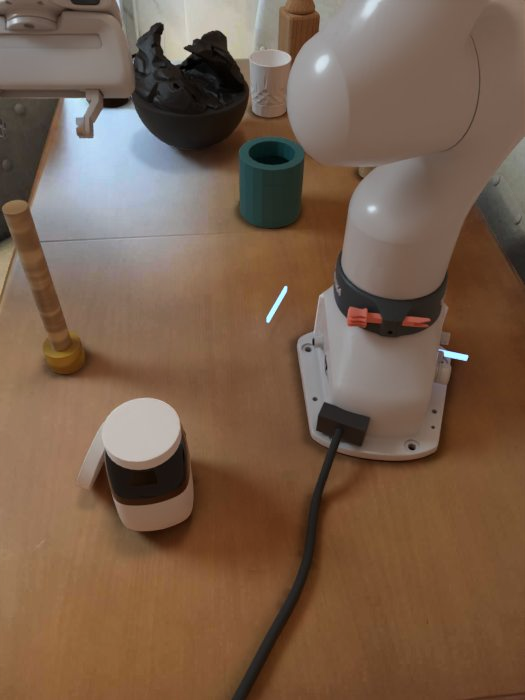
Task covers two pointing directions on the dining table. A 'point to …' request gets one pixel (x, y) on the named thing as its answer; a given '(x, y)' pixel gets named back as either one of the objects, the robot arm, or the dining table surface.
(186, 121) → the coal bowl
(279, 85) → the white cup
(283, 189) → the teal pen holder
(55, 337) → the wooden rod
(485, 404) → the dining table surface
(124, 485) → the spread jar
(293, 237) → the dining table surface
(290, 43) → the decorative item
